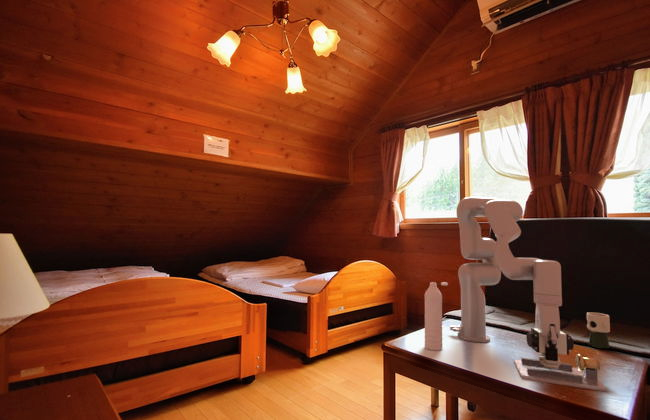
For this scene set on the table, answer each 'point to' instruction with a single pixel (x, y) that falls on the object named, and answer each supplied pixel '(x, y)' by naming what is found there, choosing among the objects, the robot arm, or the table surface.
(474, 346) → the table surface
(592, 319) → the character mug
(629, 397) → the table surface
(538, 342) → the pneumatic valve
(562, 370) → the manifold plate
